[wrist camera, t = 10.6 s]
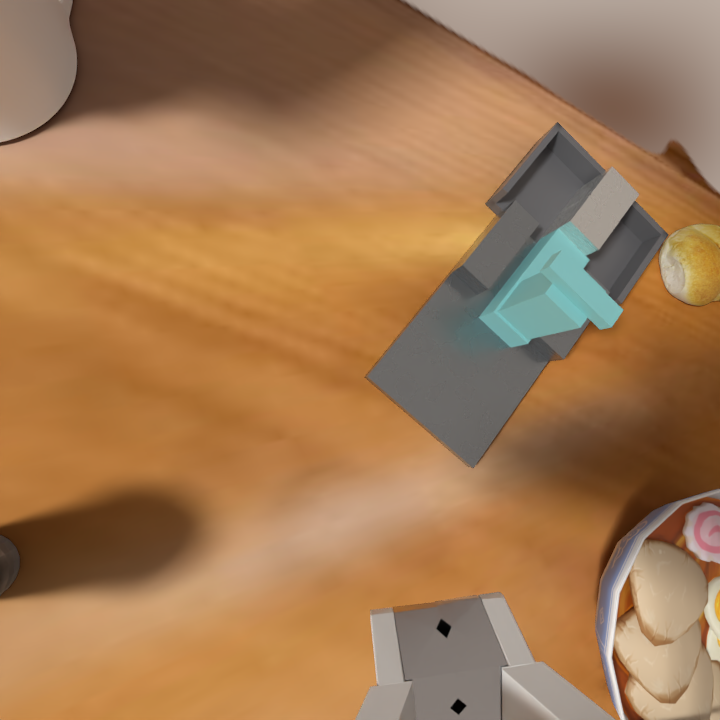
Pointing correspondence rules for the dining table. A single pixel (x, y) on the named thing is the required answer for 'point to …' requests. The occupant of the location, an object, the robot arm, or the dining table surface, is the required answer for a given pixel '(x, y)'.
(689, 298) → the bread roll
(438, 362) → the slot board
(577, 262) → the rake tool
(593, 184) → the chip
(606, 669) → the ramen bowl
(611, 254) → the tray
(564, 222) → the beige cube
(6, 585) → the beverage cup
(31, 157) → the dining table surface
